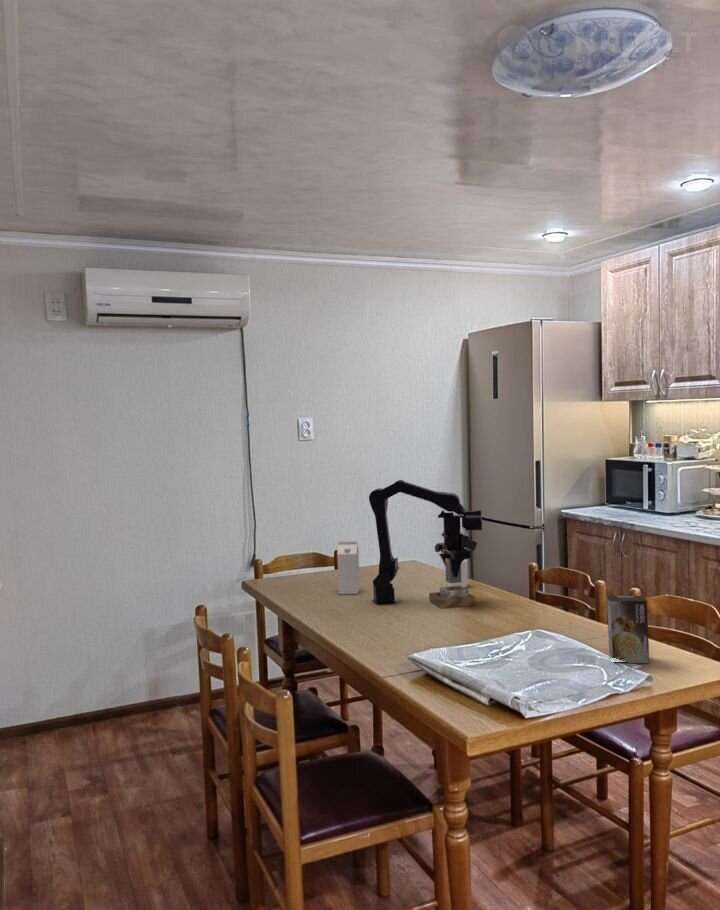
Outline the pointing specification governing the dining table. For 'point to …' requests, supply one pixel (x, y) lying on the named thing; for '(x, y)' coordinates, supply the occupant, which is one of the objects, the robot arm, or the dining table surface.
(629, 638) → the coffee box
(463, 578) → the white cup
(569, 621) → the dining table surface
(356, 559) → the milk carton
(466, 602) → the walled box
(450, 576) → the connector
